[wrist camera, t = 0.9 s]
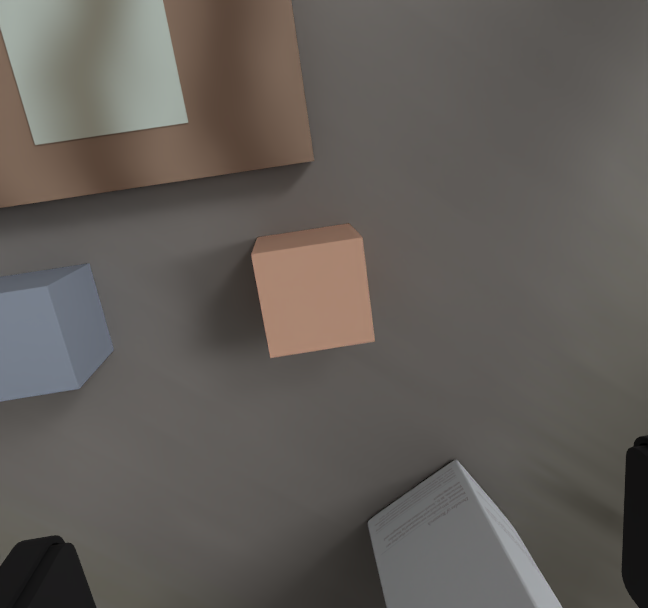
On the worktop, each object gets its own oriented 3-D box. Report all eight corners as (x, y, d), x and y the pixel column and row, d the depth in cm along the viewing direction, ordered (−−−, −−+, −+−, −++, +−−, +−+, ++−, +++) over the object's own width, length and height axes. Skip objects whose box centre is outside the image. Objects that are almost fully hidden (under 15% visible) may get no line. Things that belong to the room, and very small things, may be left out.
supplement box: (363, 519, 33) (408, 735, 20) (456, 454, 32) (562, 639, 20) (426, 587, 35) (502, 820, 22) (516, 528, 34) (645, 737, 22)
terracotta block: (349, 223, 27) (362, 237, 22) (360, 310, 29) (374, 341, 24) (257, 237, 27) (250, 254, 22) (273, 324, 28) (270, 357, 24)
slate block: (89, 262, 27) (47, 286, 22) (114, 349, 28) (79, 388, 23) (-5, 277, 27) (-69, 304, 22) (24, 363, 28) (-29, 406, 23)
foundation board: (272, -116, 22) (271, -143, 20) (312, 160, 26) (314, 160, 24) (-136, -62, 22) (-178, -83, 20) (-39, 213, 25) (-67, 218, 23)
